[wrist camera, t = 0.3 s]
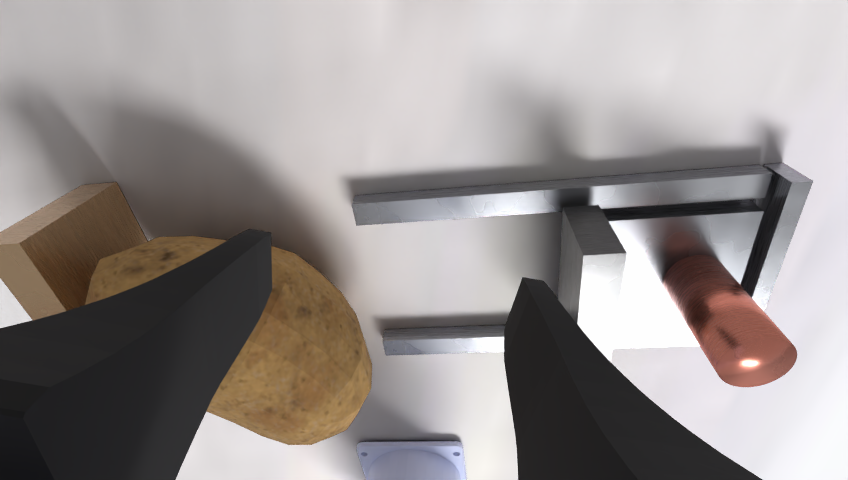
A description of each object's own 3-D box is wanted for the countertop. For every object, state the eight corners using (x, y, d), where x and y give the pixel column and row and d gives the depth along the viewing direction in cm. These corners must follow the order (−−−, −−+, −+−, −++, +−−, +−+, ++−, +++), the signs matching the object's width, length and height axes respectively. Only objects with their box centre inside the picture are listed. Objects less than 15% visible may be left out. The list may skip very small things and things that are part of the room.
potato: (190, 148, 22) (69, 231, 15) (419, 292, 26) (404, 410, 19) (133, 272, 26) (18, 378, 19) (334, 378, 30) (297, 499, 23)
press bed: (720, 354, 26) (782, 446, 21) (186, 369, 30) (132, 450, 25) (796, 124, 19) (917, 181, 14) (82, 185, 23) (-24, 246, 18)
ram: (710, 327, 25) (784, 433, 19) (551, 332, 26) (576, 435, 20) (754, 181, 20) (868, 265, 15) (558, 195, 21) (593, 279, 16)
